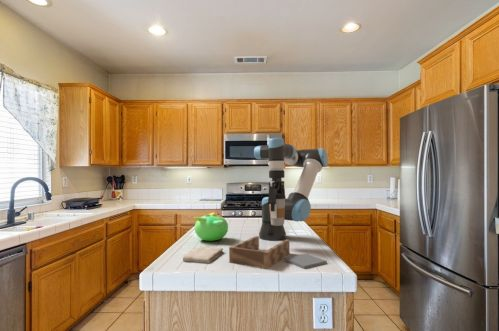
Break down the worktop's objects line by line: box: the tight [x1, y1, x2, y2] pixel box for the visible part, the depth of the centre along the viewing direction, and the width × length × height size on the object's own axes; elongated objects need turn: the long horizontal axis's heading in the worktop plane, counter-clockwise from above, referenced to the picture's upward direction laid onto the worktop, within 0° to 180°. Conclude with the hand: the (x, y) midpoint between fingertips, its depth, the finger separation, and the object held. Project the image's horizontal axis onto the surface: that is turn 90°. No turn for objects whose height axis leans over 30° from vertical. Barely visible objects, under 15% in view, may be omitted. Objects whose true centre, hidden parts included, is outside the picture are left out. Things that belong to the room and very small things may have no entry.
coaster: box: [283, 253, 328, 269], centre depth 114 cm, size 12×12×1 cm
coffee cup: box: [269, 193, 287, 226], centre depth 137 cm, size 8×8×15 cm
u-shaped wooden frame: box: [228, 235, 291, 270], centre depth 121 cm, size 24×17×6 cm
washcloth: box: [182, 246, 224, 264], centre depth 123 cm, size 12×18×3 cm, turn 166°
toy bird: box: [193, 212, 229, 242], centre depth 153 cm, size 18×17×15 cm
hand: (277, 216), depth 137 cm, fingers closed on coffee cup, 8 cm apart
